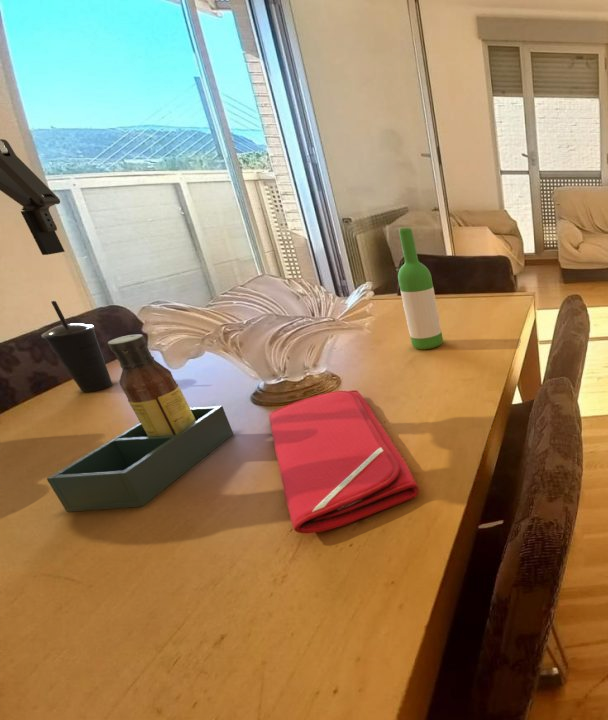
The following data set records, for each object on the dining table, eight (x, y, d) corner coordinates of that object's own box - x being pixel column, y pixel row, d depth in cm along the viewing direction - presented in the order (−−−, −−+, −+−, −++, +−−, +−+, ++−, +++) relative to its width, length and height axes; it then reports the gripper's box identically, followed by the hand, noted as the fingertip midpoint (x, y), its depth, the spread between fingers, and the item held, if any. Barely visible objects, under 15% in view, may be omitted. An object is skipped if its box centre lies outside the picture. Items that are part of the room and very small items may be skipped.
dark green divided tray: (66, 512, 67) (45, 478, 65) (174, 437, 85) (161, 409, 83) (142, 506, 68) (125, 473, 66) (233, 433, 86) (222, 405, 83)
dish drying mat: (361, 396, 98) (357, 380, 97) (423, 495, 68) (418, 474, 67) (270, 422, 89) (264, 404, 88) (296, 548, 60) (287, 524, 58)
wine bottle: (442, 338, 130) (421, 225, 118) (444, 347, 123) (423, 229, 111) (412, 343, 127) (387, 228, 115) (413, 352, 120) (387, 232, 109)
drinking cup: (102, 379, 110) (60, 296, 102) (130, 380, 109) (90, 296, 101) (62, 394, 103) (14, 306, 95) (92, 396, 102) (45, 306, 94)
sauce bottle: (202, 432, 85) (157, 327, 77) (206, 446, 80) (159, 336, 73) (153, 447, 80) (100, 338, 73) (155, 462, 76) (98, 348, 68)
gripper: (49, 103, 70) (113, 247, 78) (-136, 106, 68) (-51, 254, 77) (-8, 96, 63) (68, 256, 72) (-216, 100, 62) (-112, 263, 70)
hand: (7, 255), depth 74 cm, fingers open, 13 cm apart
